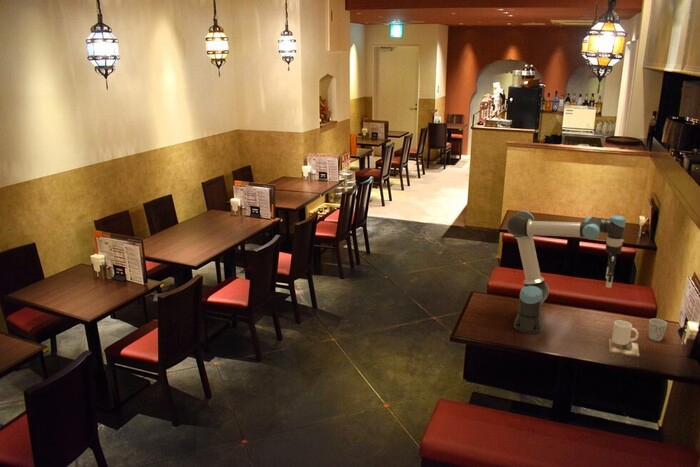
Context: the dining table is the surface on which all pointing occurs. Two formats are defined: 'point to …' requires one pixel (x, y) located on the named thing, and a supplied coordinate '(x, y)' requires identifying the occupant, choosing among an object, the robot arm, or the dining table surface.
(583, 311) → the dining table surface
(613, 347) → the peg stand
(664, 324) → the mug
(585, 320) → the dining table surface
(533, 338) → the dining table surface
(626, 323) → the mug
